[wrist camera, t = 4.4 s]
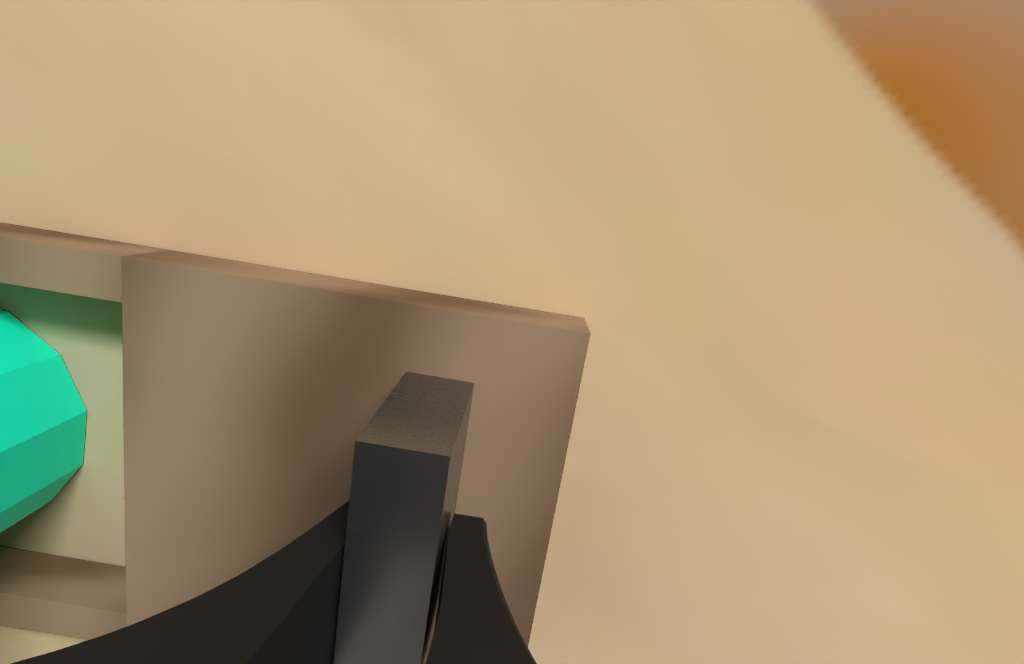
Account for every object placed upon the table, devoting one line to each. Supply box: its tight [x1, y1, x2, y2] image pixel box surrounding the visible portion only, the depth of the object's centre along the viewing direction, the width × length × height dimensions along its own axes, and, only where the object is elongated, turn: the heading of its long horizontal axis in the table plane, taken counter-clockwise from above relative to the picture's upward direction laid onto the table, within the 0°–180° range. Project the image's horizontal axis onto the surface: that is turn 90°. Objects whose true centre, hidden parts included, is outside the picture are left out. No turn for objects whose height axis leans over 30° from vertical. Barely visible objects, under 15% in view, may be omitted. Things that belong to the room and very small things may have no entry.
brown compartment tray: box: [0, 222, 590, 664], centre depth 12 cm, size 20×10×5 cm, turn 81°
